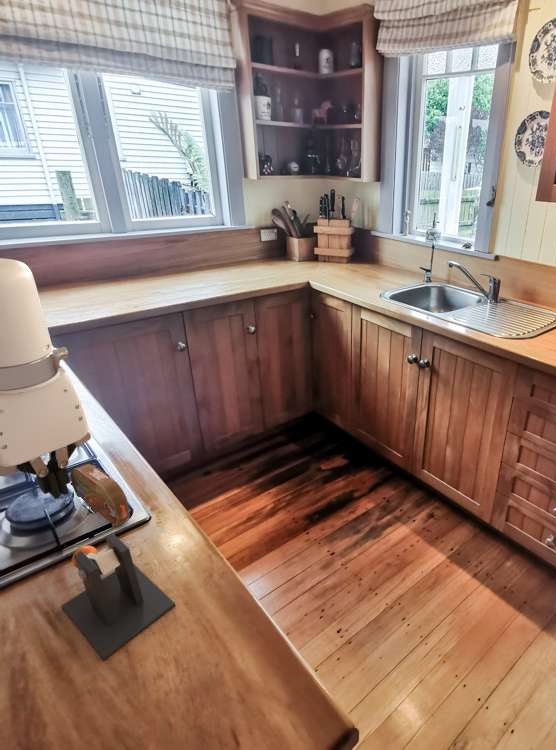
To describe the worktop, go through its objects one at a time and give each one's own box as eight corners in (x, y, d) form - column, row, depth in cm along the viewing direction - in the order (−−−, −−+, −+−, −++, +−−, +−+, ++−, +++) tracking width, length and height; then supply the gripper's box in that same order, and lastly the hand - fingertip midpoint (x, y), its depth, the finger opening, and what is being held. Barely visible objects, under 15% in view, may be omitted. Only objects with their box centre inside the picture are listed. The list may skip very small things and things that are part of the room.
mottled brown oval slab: (75, 499, 86) (63, 463, 82) (92, 490, 88) (81, 454, 84) (119, 537, 78) (108, 498, 74) (137, 525, 81) (127, 487, 77)
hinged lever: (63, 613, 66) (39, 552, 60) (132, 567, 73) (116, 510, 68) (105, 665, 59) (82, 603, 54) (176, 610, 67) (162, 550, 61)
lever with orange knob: (75, 572, 68) (65, 553, 67) (98, 559, 70) (88, 540, 70) (100, 580, 60) (89, 559, 59) (125, 565, 62) (114, 544, 62)
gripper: (72, 342, 61) (101, 455, 70) (-75, 379, 50) (-21, 509, 59) (100, 358, 58) (127, 476, 66) (-53, 403, 47) (2, 538, 55)
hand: (57, 491), depth 62 cm, fingers closed
